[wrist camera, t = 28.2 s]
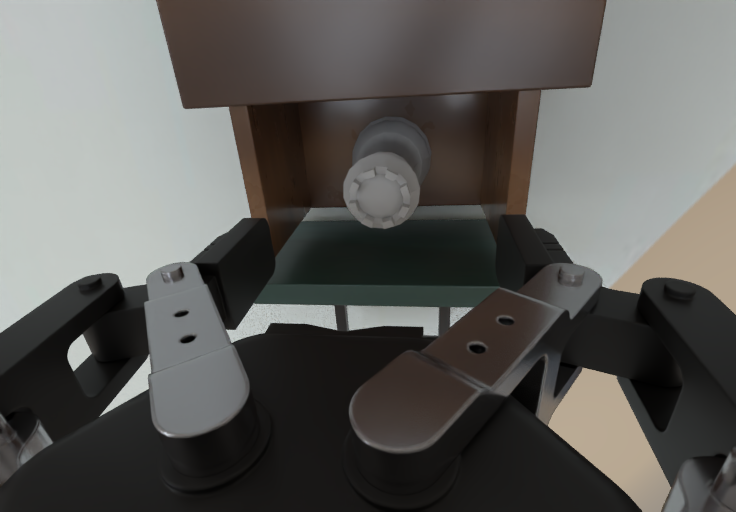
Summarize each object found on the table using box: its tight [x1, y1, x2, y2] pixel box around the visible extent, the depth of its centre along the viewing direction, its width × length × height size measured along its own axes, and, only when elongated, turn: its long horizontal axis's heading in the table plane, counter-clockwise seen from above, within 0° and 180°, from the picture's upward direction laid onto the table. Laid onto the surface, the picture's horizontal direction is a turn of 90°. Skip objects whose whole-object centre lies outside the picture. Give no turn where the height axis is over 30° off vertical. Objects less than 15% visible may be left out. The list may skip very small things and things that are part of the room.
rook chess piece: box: [343, 117, 431, 229], centre depth 19 cm, size 4×4×8 cm
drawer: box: [229, 90, 541, 340], centre depth 21 cm, size 19×13×8 cm
